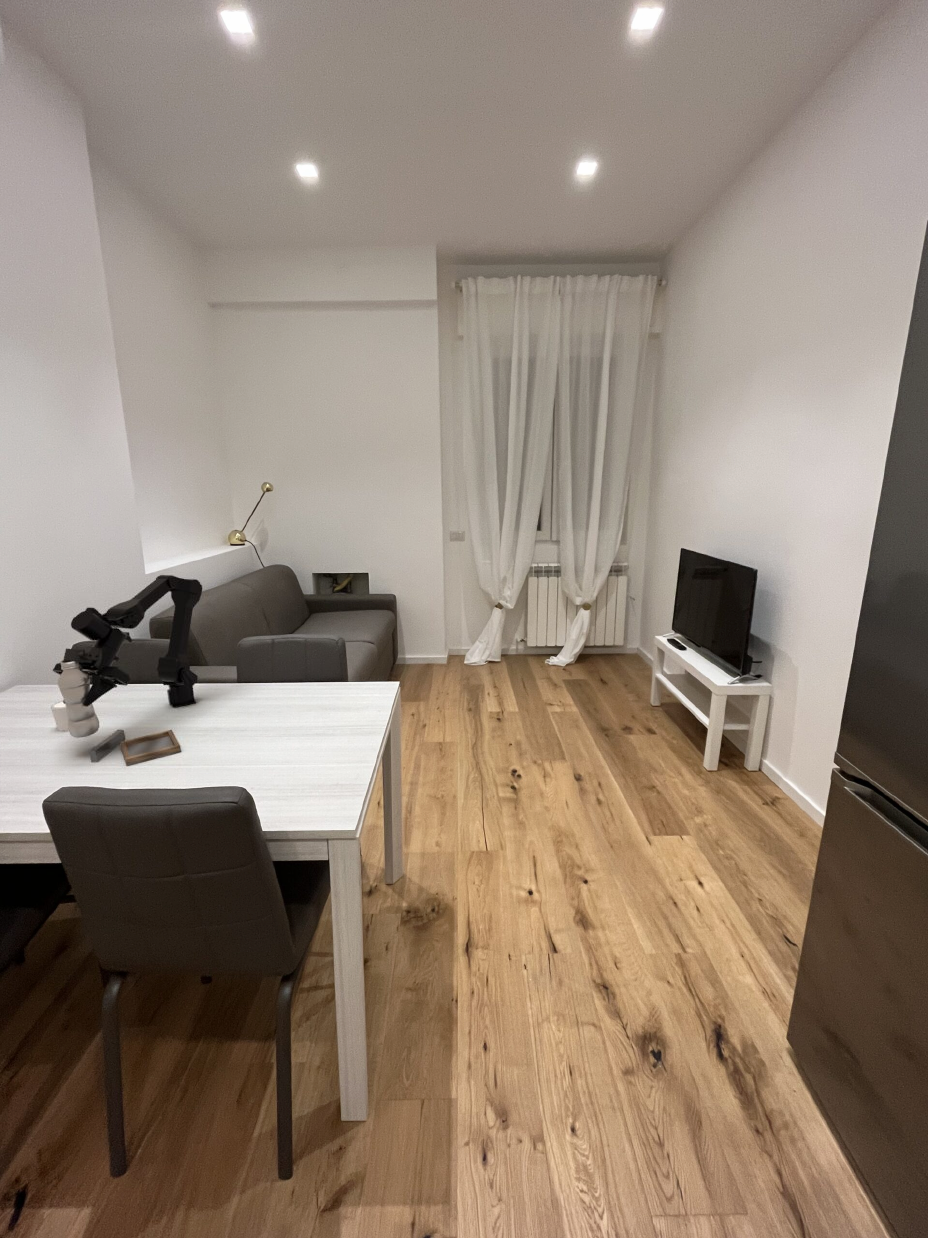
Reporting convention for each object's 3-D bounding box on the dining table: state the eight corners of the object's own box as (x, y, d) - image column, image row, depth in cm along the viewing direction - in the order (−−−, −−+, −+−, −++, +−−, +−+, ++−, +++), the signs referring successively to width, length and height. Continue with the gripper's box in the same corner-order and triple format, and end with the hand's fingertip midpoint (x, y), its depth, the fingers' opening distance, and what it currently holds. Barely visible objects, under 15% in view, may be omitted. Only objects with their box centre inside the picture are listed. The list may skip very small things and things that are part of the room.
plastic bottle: (107, 730, 141) (92, 656, 135) (83, 742, 134) (66, 666, 129) (88, 727, 142) (72, 654, 137) (63, 739, 136) (46, 663, 131)
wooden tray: (172, 735, 148) (171, 729, 148) (181, 751, 139) (180, 745, 139) (120, 747, 141) (119, 741, 141) (126, 766, 132) (125, 759, 132)
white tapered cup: (69, 733, 150) (64, 709, 149) (48, 731, 152) (44, 707, 150) (90, 722, 157) (86, 700, 155) (70, 721, 158) (66, 698, 156)
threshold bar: (119, 740, 146) (118, 729, 145) (125, 740, 146) (123, 729, 145) (91, 762, 134) (89, 750, 133) (97, 762, 134) (95, 750, 133)
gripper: (52, 632, 138) (17, 688, 130) (113, 636, 134) (81, 695, 126) (85, 652, 148) (54, 706, 140) (143, 657, 143) (115, 713, 136)
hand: (75, 704), depth 135 cm, fingers closed on plastic bottle, 6 cm apart
